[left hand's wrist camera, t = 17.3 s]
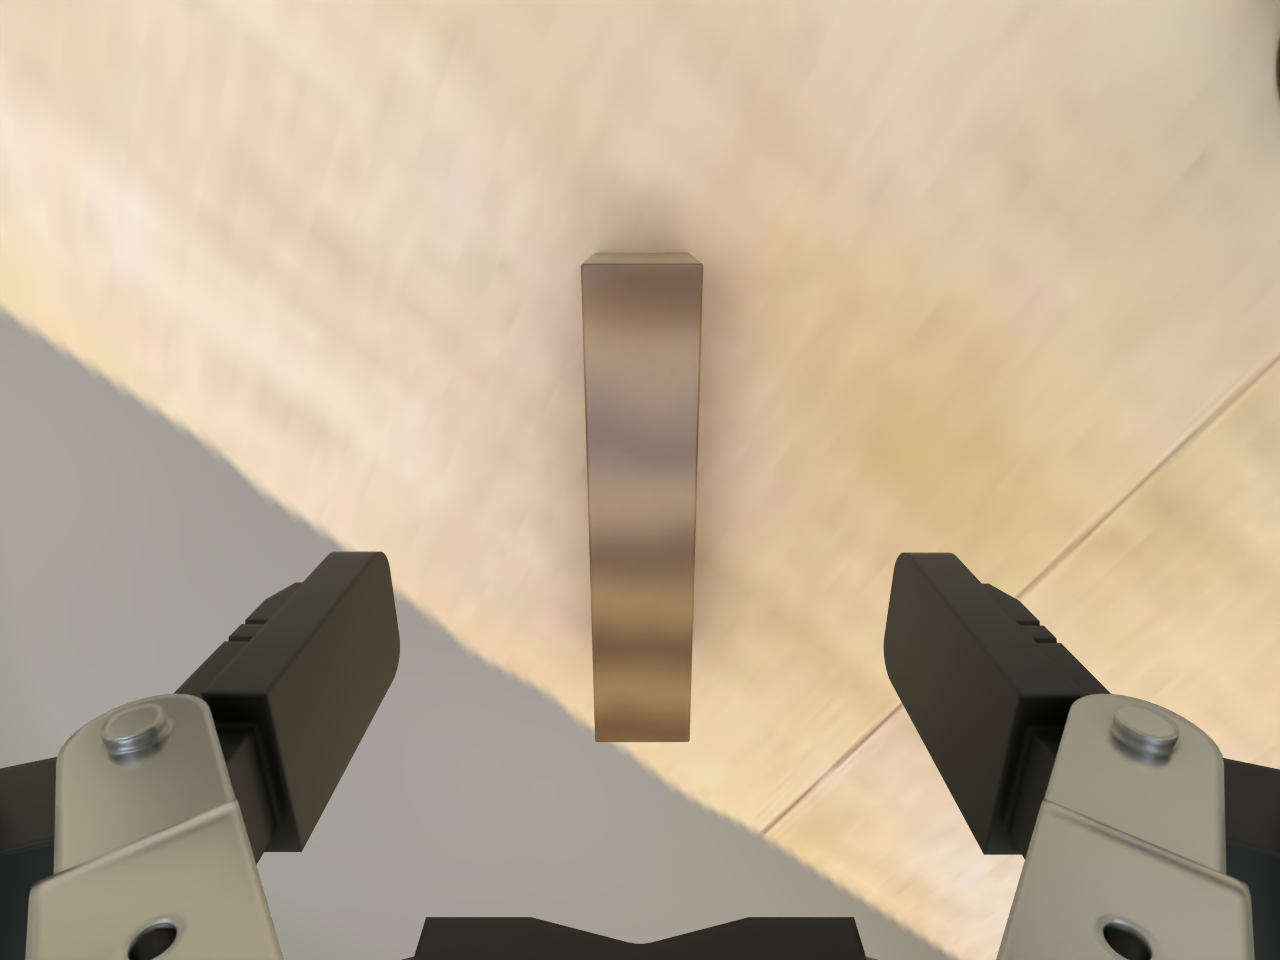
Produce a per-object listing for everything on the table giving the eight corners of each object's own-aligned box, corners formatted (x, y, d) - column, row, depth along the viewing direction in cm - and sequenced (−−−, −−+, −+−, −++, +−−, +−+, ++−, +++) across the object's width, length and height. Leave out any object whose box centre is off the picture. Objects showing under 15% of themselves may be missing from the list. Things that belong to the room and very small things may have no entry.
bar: (593, 253, 34) (580, 263, 27) (688, 252, 34) (703, 263, 27) (603, 646, 42) (595, 742, 35) (680, 646, 42) (689, 742, 35)
